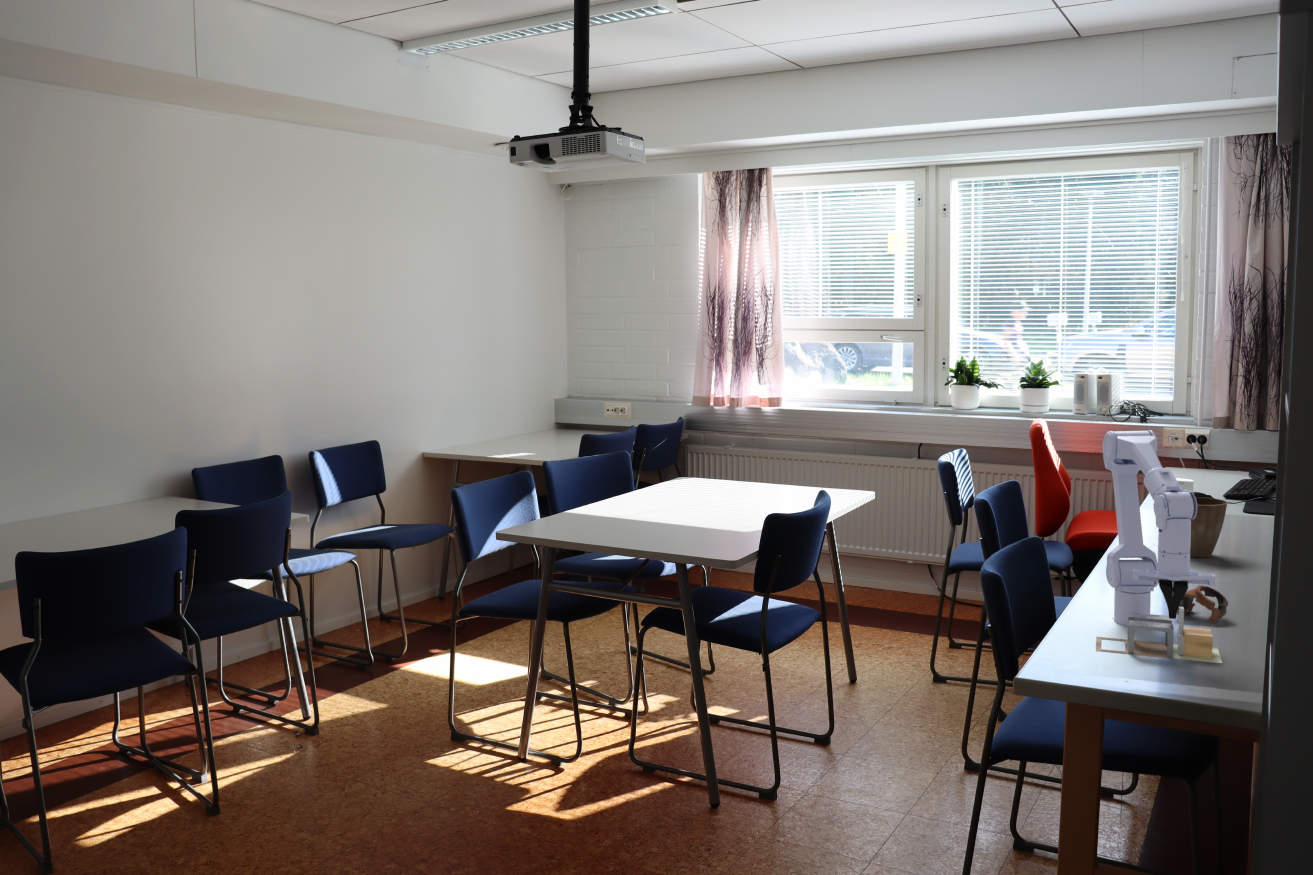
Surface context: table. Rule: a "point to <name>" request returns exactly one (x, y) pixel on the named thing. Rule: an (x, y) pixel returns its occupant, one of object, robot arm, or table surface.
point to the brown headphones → (1205, 601)
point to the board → (1157, 650)
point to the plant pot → (1206, 526)
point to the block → (1198, 642)
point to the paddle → (1181, 631)
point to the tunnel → (1150, 628)
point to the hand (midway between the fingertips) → (1172, 617)
